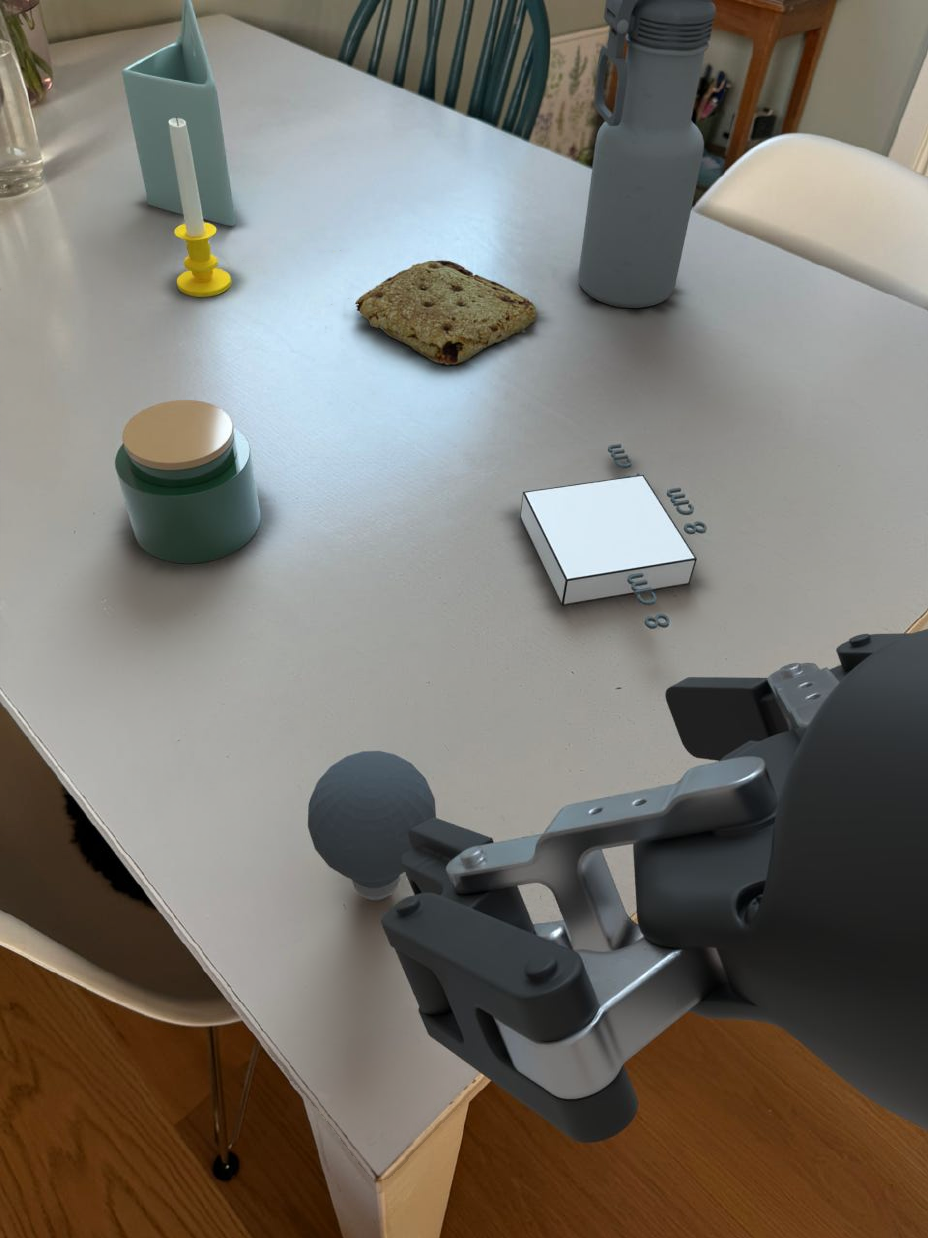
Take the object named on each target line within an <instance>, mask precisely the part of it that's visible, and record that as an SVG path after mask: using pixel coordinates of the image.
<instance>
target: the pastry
mask: <svg viewBox="0 0 928 1238" xmlns="http://www.w3.org/2000/svg"><path fill="white" fill-rule="evenodd" d="M354 305H356V307H355V308H356V311H357V312H359V315H362V317H364V318H365V319H366V320H367V321H369V324H370V327H374V328H378V329H379V328H380V329H382V331H383V332H384V333H385V334H386V335H388V336H389V337H391V338H393V339H395V340H397V341H399V342H400V343H403V344H405V345H407V346H409V347H410V348H412V349H413V351H415V352H418V354H420V355H421V356H424V357H425V358H427V359H428V360H430V361H431V362H434V363H436V364H442V365H446V366H450V365H452V366H453V365H458V364H461V363H464V362H466V361H468V360H469V359H471V358H472V357H475V356H476V355H477V354H478V353H480V352H481V351H482V350H486V348H487V347H488V348H489V347H490V346H492V345H494V344H498V343H500V342H502V341H507V340H508V339H510V336H512V335H513V334H518V333H523V334H525V333H526V330H525V329H526V328H527V327H528V326H529V325H530V324H532V323H534V322H535V320H536V319H537V316H538V312H537V308H536V305H535V303H533V301H530V299H528V298H527V297H526V296H525V297H524V296H522V295H521V294H519V293H517V292H516V291H514V290H511V289H510V288H508V287H506V286H505V285H503V284H500V283H499V282H497V281H493V280H491V279H487V278H485V277H483V276H480V275H479V274H473V272H472V271H470V270H468V269H467V268H465V267H464V266H463V265H460V264H459V263H457V262H453V261H451V260H427V261H424V262H422V263H416V264H412V265H411V267H409V268H407V269H403V270H401V271H399V272H398V273H396V274H395V275H393V276H390V277H388V278H386V279H384V281H382V282H381V283H380V284H376V286H375V287H374V288H373V289H368V291H367V292H365V293H364V294H362V295H361V296H360V297H358V299H356V301H355V303H354Z"/></svg>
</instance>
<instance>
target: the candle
mask: <svg viewBox="0 0 928 1238" xmlns="http://www.w3.org/2000/svg"><path fill="white" fill-rule="evenodd" d="M169 129H170V137H171V144H172V149H173V155H174V161H175V167H176V173H177V179H178V185H179V191H180V197H181V202H182V208H183V214H182V215H183V219H184V223H183V224H180V225H178V226H177V227H176V228H175V230H174V235H175V236H176V237H177V238H179V239H181V240H183V241H185V243H186V247H185V248H186V253H187V255H188V256H186V257H185V258H184V260H183V265H184V268H185V269H186V270H185V271H183V272H182V273H180V275H179V276H178V277H177V279H176V285H177V289H178V290H179V291H180V292H181V293H182V294H185V295H187V296H190V297H194V298H195V297H197V298H208V297H214V296H217V295H221V294H223V293H224V292H226V291H228V290H229V288H230V287H231V286H232V278H231V274H230V273H229V272H227V271H225V270H224V269H222V268H218V265H219V261H218V257H217V256H215V255H214V254H211V251H212V250H211V249H212V248H211V245H210V242H209V241H210V238H212V237H214V236H215V235H216V234H217V228H216V226H215V225H214V224H212V223H209V222H204V219H203V216H202V210H201V204H200V198H199V193H198V187H197V181H196V175H195V169H194V163H193V157H192V151H191V145H190V140H189V135H188V130H187V126H186V122H185V121H184V120H183V119H180V118H177V115H176V118H172V119H170V120H169Z"/></svg>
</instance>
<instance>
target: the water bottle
mask: <svg viewBox="0 0 928 1238" xmlns="http://www.w3.org/2000/svg"><path fill="white" fill-rule="evenodd" d="M604 5H605V6H604V12H603V13H604V14H603V19H604V21H605V22H606V23H607V24H608V25H609V32H608V40H607V45H603V46H601V48H600V51H599V54H598V61H597V69H596V77H595V85H594V94H593V102H594V108H595V110H596V111H597V112H598V114H599V115H600V116H601V118H602V119H603V120H604V122H603V123H602V125H601V126H600V128H599V129H598V132H597V135H596V138H595V145H594V151H593V160H592V168H591V174H590V184H589V191H588V199H587V205H586V214H585V223H584V229H583V235H582V245H581V252H580V260H579V268H578V282H579V285H580V286H581V288H582V289H583V291H584V292H585V293H586V294H587V295H588V296H590V297H591V298H593V299H594V300H596V301H599V302H601V303H604V304H606V305H609V306H613V307H618V308H619V307H620V308H627V309H639V308H640V309H641V308H647V307H652V306H655V305H658V304H660V303H663V302H664V301H665V300H667V299H668V298H669V297H670V296H671V295H672V294H673V292H674V290H675V287H676V283H677V279H678V274H679V271H680V265H681V260H682V255H683V250H684V246H685V240H686V237H687V231H688V227H689V222H690V217H691V212H692V207H693V203H694V197H695V193H696V188H697V183H698V179H699V175H700V169H701V165H702V160H703V156H704V149H705V141H704V137H703V133H702V132H701V130H700V129H699V127H698V126H697V125H696V123H694V122H693V120H692V117H693V113H694V108H695V102H696V99H697V92H698V87H699V83H700V77H701V72H702V67H703V62H704V56H705V52H706V51H707V50H708V49H709V47H710V40H711V37H712V32H713V26H714V21H715V16H716V11H717V8H716V5H715V4H714V3H713V2H712V0H605V4H604ZM625 42H626V44H627V47H626V54H625V59H624V57H623V54H624V49H625ZM609 60H610V61H611V62H612V63H613V65H615V68H616V72H617V83H616V89H615V96H614V97H615V98H614V105H613V110H612V111H610V109H609V108H608V107H607V106H606V104H605V99H604V98H605V97H604V89H605V81H606V74H607V66H608V61H609Z"/></svg>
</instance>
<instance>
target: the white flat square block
mask: <svg viewBox="0 0 928 1238" xmlns="http://www.w3.org/2000/svg"><path fill="white" fill-rule="evenodd" d="M614 449H615V450H614ZM607 452H608V453H610V457H611V458H612V459H613V461H615V465H616V466H617V467H618V468H620V469H629V468H631V467H632V464H633V461H632V459H631V458H629V455H628V454H625V452H626V450H625V449H623V448H622V444H621V443H616V444H611V445H609V446H607ZM621 454H622V455H621ZM620 460H626V462H627V463H621V462H620ZM680 492H682V488H681V487H674V488H669V489H667V491H666V496H667V497H668V498H670V502H671V503H672V504H673V506H674V507H676V508H675V509H676V512H677V513H678V514H680V515H683V516H690V515H693V513H694V510H695V507H694V506H693V504H692V503H690V500H689V499H686V498H685V497H686V493H680ZM674 493H675V494H674ZM677 493H679V494H677ZM521 497H522V498H521V505H520V517H519V518H520V519H521V521H522V524H523V526H524V528H525V531H526V532H527V534H528V537H529V538H530V540H531V541H530V542H532V545H533V547H534V549H535V551H536V553H537V556H538V558H539V560H540V561H541V564H542V566H543V568H544V570H545V573H546V574H547V577H548V579H549V581H550V583H551V585H552V587H553V590H554V592H555V594H556V596H557V597H558V599H559V602H560V604H561V606H568V605H573V604H578V603H579V604H580V603H585V602H590V601H596V600H603V599H607V598H614V597H620V596H626V595H631V594H632V595H633V594H634V595H637V596H636V600H637V601H638V602H639V603H640V604H641V605H643V606H653V605H655V604H656V602H657V595H656V594H655V592H654V591H655V590H661V589H666V588H667V589H668V588H672V587H678V586H683V585H684V586H685V585H689V584H691V581H692V577H693V574H694V571H695V567H696V565H697V561H698V558H697V557H696V555H695V554H694V553H695V552H693V550H692V548H691V547H690V546H689V544H688V542H687V540H686V539H685V538H684V536H683V535H682V533H681V531H680V530H679V528H678V527H677V525H676V523H675V522H674V521H673V519H672V517H671V516H670V513H668V511H667V509H666V508H665V506H664V505H663V503H662V502H661V500H660V499H659V497H658V495H657V494H656V492H655V490H654V489H653V487H652V486H651V484H650V483H649V481H648V479H647V478H646V477H645V475H644V474H640V473H639V472H637V473H636V475H627V474H626V475H623V476H622V477H617V478H610V479H604V480H596V481H589V482H581V483H576V484H575V483H574V484H568V485H562V486H561V485H560V486H554V487H548V488H547V487H546V488H541V489H533V490H526V491H522V495H521ZM678 499H679V500H678ZM680 499H683V500H680ZM685 505H687V508H689V510H683V509H681V507H680V506H685ZM698 527H701V528H698ZM707 528H708V527H707V524H705V522H703V521H699V520H698V521H697V520H696V521H694V522H693V523H690V522H689V523H685V524H684V526H683V531H684V532H685V534H687V535H695V534H697V533H698V534H701V535H702V534H705V533H706V532H707V530H708V529H707ZM647 593H649V595H650V597H651V598H652V599H650V600H646V599H643V598H642V596H641V594H647ZM659 619H663V620H664V621H665V622H661V621H659ZM650 622H652V623H650ZM670 622H671V620H670V617H669V616H668V615H667V614H665V613H661V612H660V613H656V614H655V616H651V615H648V616H646V617H645V618H644V623H643V624H644V625H645V627H646V628H648V629H650V630H655V629H657V628H658V627H659V628H662V629H663V628H668V627H669V625H670Z"/></svg>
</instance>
